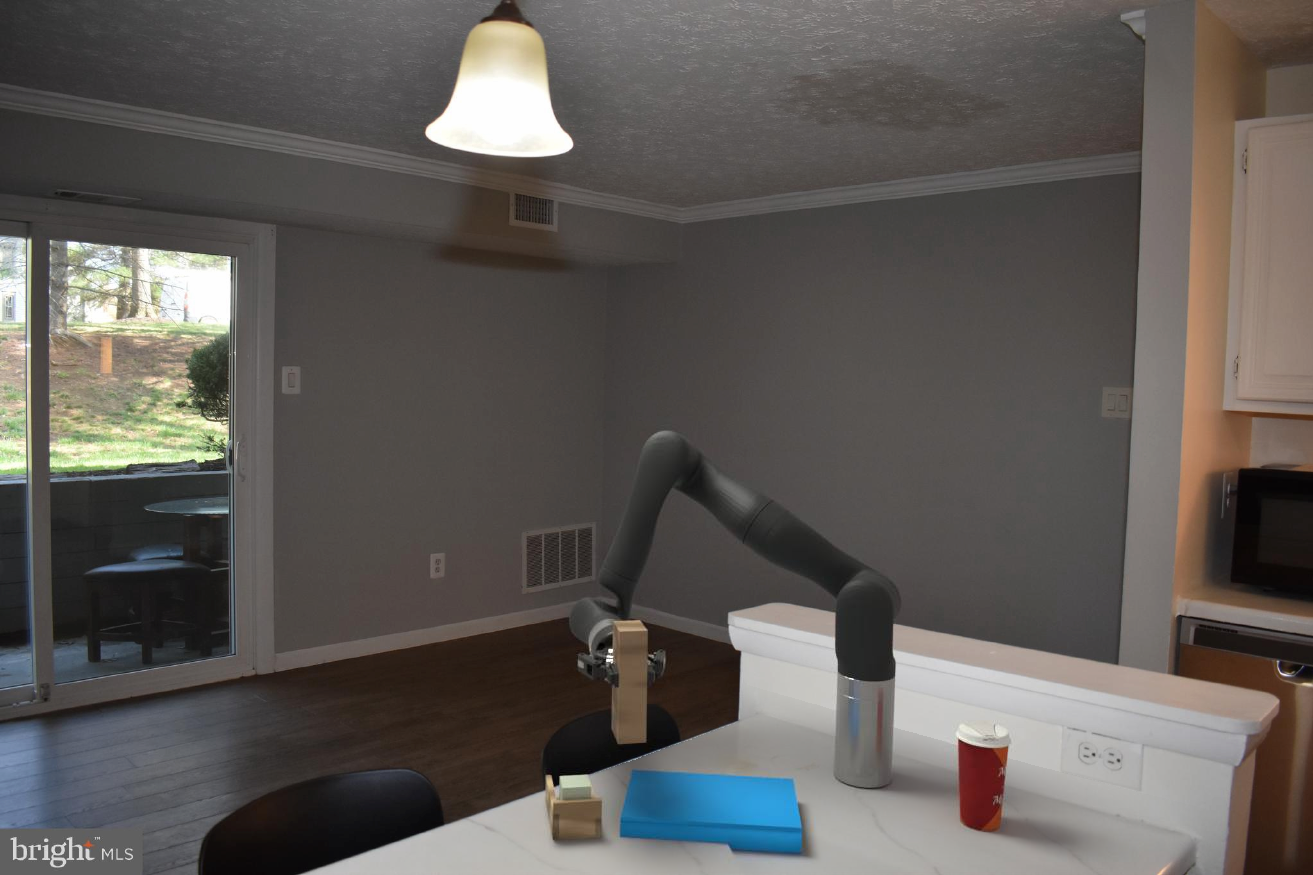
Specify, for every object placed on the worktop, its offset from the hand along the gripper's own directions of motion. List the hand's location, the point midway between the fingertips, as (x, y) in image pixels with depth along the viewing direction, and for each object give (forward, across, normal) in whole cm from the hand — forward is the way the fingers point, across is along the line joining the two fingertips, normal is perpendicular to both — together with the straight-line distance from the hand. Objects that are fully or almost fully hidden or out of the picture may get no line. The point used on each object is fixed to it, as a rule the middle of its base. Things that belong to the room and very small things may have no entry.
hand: (633, 679), depth 130 cm
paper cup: (+6, +51, +22) cm, 56 cm away
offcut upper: (0, -8, +17) cm, 19 cm away
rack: (-3, -8, +21) cm, 23 cm away
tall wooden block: (-3, 0, +9) cm, 9 cm away
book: (-1, +12, +22) cm, 25 cm away
